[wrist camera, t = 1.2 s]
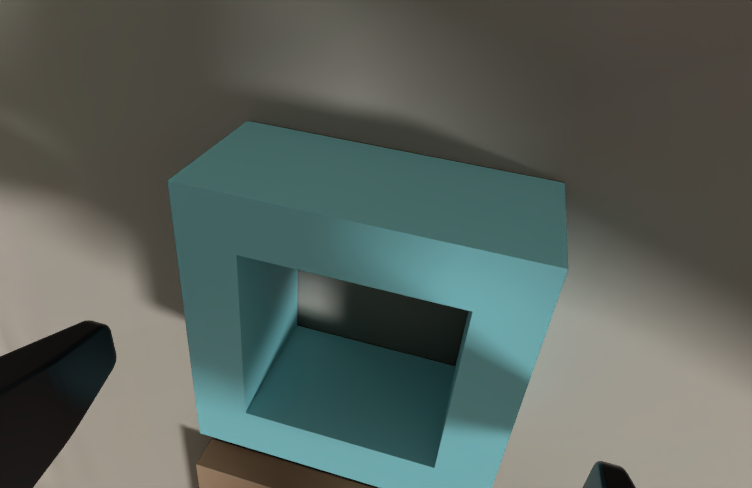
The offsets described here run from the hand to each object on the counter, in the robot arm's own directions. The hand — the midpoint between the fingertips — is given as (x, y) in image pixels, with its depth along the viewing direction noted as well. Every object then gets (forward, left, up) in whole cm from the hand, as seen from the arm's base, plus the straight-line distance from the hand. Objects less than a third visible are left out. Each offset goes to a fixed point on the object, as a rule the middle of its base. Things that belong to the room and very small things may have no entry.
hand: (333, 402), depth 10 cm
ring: (0, 0, -4) cm, 4 cm away
